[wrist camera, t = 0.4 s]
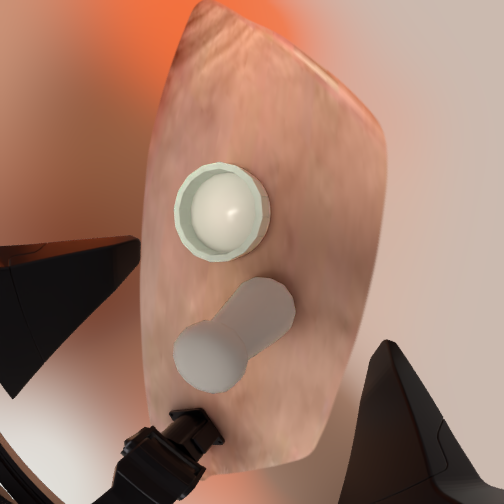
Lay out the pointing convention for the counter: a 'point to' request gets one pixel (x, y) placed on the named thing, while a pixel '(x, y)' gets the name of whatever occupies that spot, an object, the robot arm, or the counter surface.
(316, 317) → the counter surface
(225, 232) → the pale green shallow dish
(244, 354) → the salt shaker
